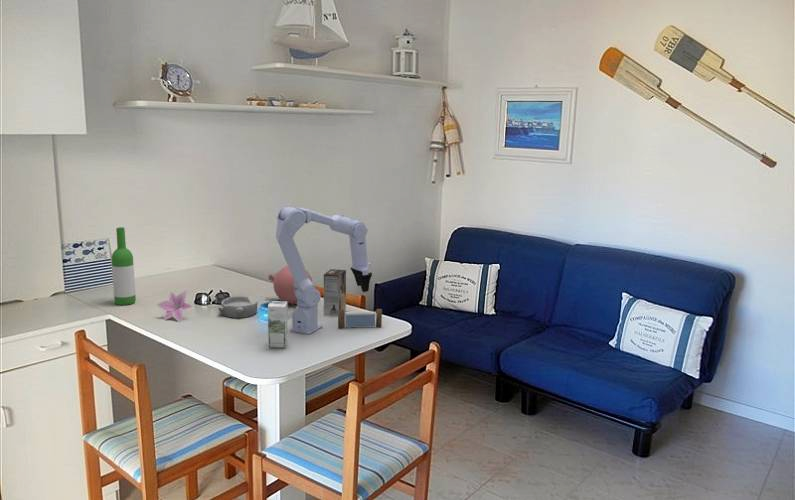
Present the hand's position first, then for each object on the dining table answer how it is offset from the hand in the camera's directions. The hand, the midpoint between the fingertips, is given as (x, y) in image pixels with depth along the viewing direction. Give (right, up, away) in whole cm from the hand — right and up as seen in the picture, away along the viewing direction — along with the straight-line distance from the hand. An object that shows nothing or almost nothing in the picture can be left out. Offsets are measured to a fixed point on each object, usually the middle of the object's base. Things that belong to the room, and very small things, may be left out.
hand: (362, 288), depth 237 cm
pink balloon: (-31, -7, +22) cm, 39 cm away
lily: (-69, -11, -1) cm, 70 cm away
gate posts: (-1, -14, -6) cm, 15 cm away
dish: (-47, -10, +7) cm, 49 cm away
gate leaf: (-1, -13, -6) cm, 15 cm away
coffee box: (-11, -10, +10) cm, 18 cm away
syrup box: (-26, -17, -26) cm, 41 cm away
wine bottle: (-94, -7, +16) cm, 96 cm away
